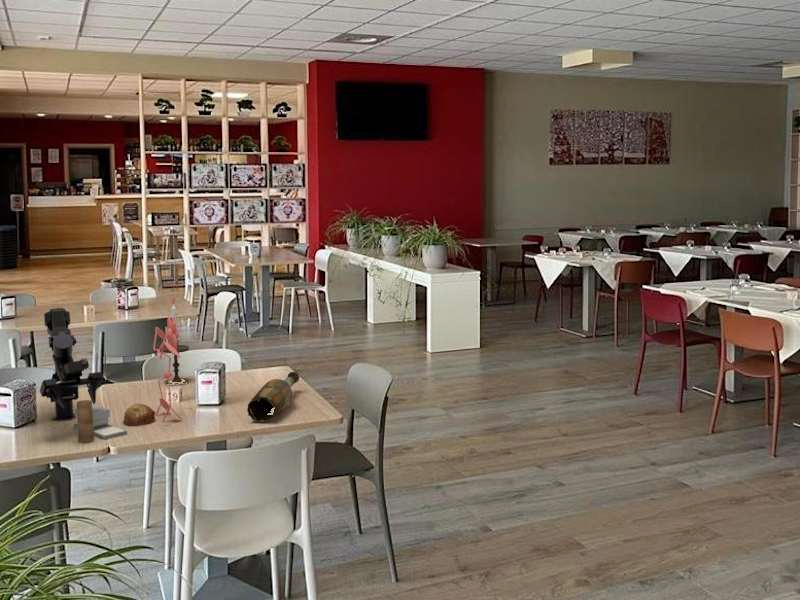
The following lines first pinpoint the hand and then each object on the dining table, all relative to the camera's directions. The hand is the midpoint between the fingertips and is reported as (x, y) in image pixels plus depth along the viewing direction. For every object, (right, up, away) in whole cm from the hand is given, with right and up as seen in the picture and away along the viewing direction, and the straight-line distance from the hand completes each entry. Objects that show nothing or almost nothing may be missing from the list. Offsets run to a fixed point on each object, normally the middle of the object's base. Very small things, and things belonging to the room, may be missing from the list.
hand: (80, 405), depth 271 cm
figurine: (+24, -7, +26) cm, 36 cm away
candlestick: (+11, 0, +74) cm, 75 cm away
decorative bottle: (+57, -5, +39) cm, 69 cm away
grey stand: (+3, -9, +10) cm, 14 cm away
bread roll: (+13, -8, +20) cm, 25 cm away
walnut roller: (+2, -11, -1) cm, 11 cm away
